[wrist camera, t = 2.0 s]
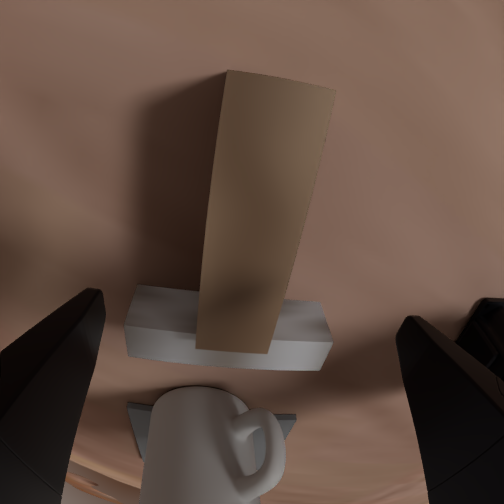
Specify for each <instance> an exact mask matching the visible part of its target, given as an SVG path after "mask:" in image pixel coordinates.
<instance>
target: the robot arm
mask: <svg viewBox="0 0 504 504" xmlns="http://www.w3.org/2000/svg"><path fill="white" fill-rule="evenodd" d="M105 318H106V312H105V305H104V299H103V293H102V291H101V290H100V289H95V288H86V289H85V290H83V291H82V292H80V293H79V294H78V295H76V296H75V297H73V298H72V299H71V300H69V301H68V302H66V303H65V304H64V305H62V306H61V307H59V308H58V309H57V310H55V311H54V312H52V313H51V314H50V315H48V316H47V317H46V318H44V319H43V320H42V321H40V322H39V323H37V324H36V325H35V326H33V327H32V328H31V329H29V330H28V331H27V332H25V333H24V334H23V335H22V336H20V337H19V338H18V339H16V340H15V341H14V342H12V343H11V344H10V345H9V346H7V347H6V348H5V349H3V350H2V351H1V352H0V504H61V499H62V496H61V495H62V493H63V487H64V482H65V478H66V473H67V468H68V464H69V459H70V455H71V451H72V447H73V442H74V438H75V435H76V431H77V427H78V423H79V419H80V416H81V412H82V409H83V405H84V402H85V398H86V395H87V391H88V388H89V385H90V382H91V378H92V375H93V372H94V368H95V365H96V360H97V355H98V350H99V346H100V341H101V336H102V332H103V327H104V323H105ZM396 346H397V351H398V356H399V362H400V367H401V373H402V378H403V383H404V387H405V391H406V395H407V398H408V402H409V406H410V410H411V414H412V418H413V422H414V427H415V431H416V435H417V440H418V444H419V449H420V454H421V459H422V464H423V469H424V474H425V480H426V486H427V491H428V499H429V504H504V299H490V298H487V299H484V300H483V301H482V302H481V304H480V305H479V307H478V309H477V310H476V312H475V314H474V315H473V317H472V318H471V320H470V322H469V323H468V325H467V326H466V328H465V329H464V331H463V332H462V334H461V335H460V337H459V338H458V340H457V341H456V343H454V342H453V341H452V340H450V339H449V338H448V337H446V336H445V335H444V334H443V333H441V332H440V331H439V330H437V329H436V328H435V327H433V326H432V325H431V324H429V323H428V322H427V321H425V320H424V319H423V318H421V317H420V316H414V315H410V316H407V317H406V318H405V320H404V322H403V323H402V325H401V327H400V329H399V330H398V332H397V334H396Z"/></svg>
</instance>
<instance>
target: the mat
mask: <svg viewBox="0 0 504 504" xmlns="http://www.w3.org/2000/svg"><path fill="white" fill-rule="evenodd" d="M152 409H153V406H149V405H142V404H136V403H129V402H128V405H127V410H128V414H129V417H130V421H131V424H132V428H133V431H134V434H135V438H136V441H137V444H138V447H139V450H140V453H141V456H142V459H143V462H145V455H146V448H147V441H148V434H149V426H150V419H151V413H152ZM274 416H275V417H276V419H277V421H278V423H279V424H280V427H281V430H282V432H283V437H284V440H285V439H286V437H287V435H288V434H289V432H290V430H291V429H292V427H293V425H294V423H295V422H296V414H294V415H274ZM253 443H254V453H255V462H256V470H259V469H260V468H261V466H262V464H263V462H264V459H265V453H266V442H265V436H264V432H263V429H262V427H260V428H258V429H256V430H255V431H253Z"/></svg>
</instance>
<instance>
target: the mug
mask: <svg viewBox="0 0 504 504" xmlns="http://www.w3.org/2000/svg"><path fill="white" fill-rule="evenodd" d="M260 427H262V429H263V432H264V436H265V442H266V453H265V459H264V462H263V464H262V466H261V468H260V469H259V470H258V471H256V462H255V453H254V443H253V431H255V430H256V429H258V428H260ZM285 461H286V449H285V441H284V437H283V432H282V430H281V427H280V424H279V423H278V421H277V419H276V417H275V416H274V415H273V414H272V413H271V412H270V411H269V410H267V409H264V408H254V409H251V410H249V409H248V408H247V406H246V405H245V403H244V402H242V401H241V400H240V399H239V398H237V397H236V396H234V395H232V394H230V393H228V392H226V391H223V390H220V389H215V388H211V387H201V386H191V387H183V388H178V389H175V390H172V391H169V392H167V393H166V394H164V395H162V396H161V397H160V398H159V399H158V400H157V401H156V402H155V404H154V406H153V409H152V413H151V419H150V426H149V434H148V441H147V448H146V455H145V462H144V469H143V476H142V484H141V492H140V500H139V504H260V495H262V494H264V493H266V492H267V491H269V490H271V489H272V488H273V487H274V486H276V485H277V483H278V482H279V481H280V479H281V477H282V475H283V473H284V469H285Z"/></svg>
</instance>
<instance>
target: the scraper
mask: <svg viewBox="0 0 504 504" xmlns="http://www.w3.org/2000/svg"><path fill="white" fill-rule="evenodd" d="M335 94H336V90H333V89H329V88H325V87H321V86H317V85H312V84H308V83H303V82H299V81H294V80H289V79H284V78H279V77H273V76H267V75H261V74H255V73H249V72H242V71H234V70H227V75H226V81H225V87H224V94H223V100H222V107H221V113H220V120H219V127H218V134H217V141H216V148H215V155H214V163H213V171H212V179H211V187H210V195H209V203H208V212H207V221H206V230H205V239H204V249H203V259H202V270H201V280H200V292H199V291H190V290H181V289H172V288H163V287H155V286H147V285H139V284H137V287H136V290H135V293H134V296H133V299H132V302H131V305H130V307H129V310H128V313H127V316H126V319H125V322H124V331H125V338H126V345H127V351H128V356H130V357H136V358H143V359H150V360H158V361H166V362H174V363H183V364H193V365H203V366H215V367H228V368H243V369H262V370H295V371H320V369H321V367H322V365H323V363H324V361H325V359H326V357H327V355H328V353H329V351H330V349H331V347H332V344H333V339H332V336H331V333H330V330H329V327H328V324H327V321H326V318H325V315H324V312H323V309H322V306H321V303H320V302H313V301H299V300H286V299H284V297H285V293H286V290H287V286H288V282H289V279H290V275H291V272H292V268H293V264H294V261H295V257H296V254H297V250H298V246H299V242H300V239H301V235H302V231H303V227H304V223H305V220H306V216H307V212H308V208H309V204H310V200H311V196H312V192H313V188H314V184H315V180H316V176H317V172H318V168H319V164H320V160H321V155H322V151H323V147H324V143H325V138H326V134H327V130H328V125H329V121H330V117H331V112H332V108H333V103H334V98H335Z"/></svg>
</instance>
